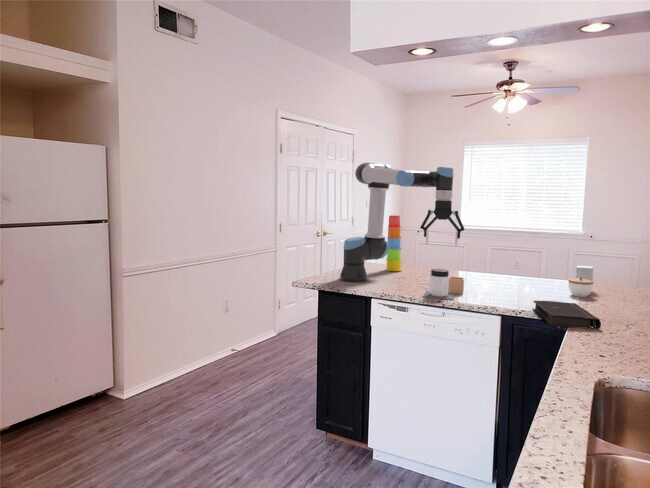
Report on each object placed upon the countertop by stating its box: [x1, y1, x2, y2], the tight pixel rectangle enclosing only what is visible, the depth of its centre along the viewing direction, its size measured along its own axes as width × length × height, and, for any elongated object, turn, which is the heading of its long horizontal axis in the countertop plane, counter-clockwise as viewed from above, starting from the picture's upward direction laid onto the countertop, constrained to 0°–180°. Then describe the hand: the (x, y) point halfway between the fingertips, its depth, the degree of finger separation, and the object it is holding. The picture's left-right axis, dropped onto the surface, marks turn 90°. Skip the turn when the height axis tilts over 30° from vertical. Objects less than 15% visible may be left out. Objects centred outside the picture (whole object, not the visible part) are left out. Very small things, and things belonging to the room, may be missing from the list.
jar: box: [429, 268, 450, 297], centre depth 225 cm, size 9×8×12 cm
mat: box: [422, 290, 456, 301], centre depth 226 cm, size 14×14×1 cm
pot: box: [448, 276, 465, 295], centre depth 235 cm, size 7×7×7 cm
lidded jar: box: [568, 277, 594, 298], centre depth 232 cm, size 11×11×9 cm
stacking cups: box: [385, 215, 403, 272], centre depth 293 cm, size 10×10×35 cm
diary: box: [532, 300, 602, 329], centre depth 188 cm, size 19×25×5 cm
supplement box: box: [575, 265, 594, 292], centre depth 244 cm, size 7×7×13 cm
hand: (441, 244), depth 223 cm, fingers open, 13 cm apart
